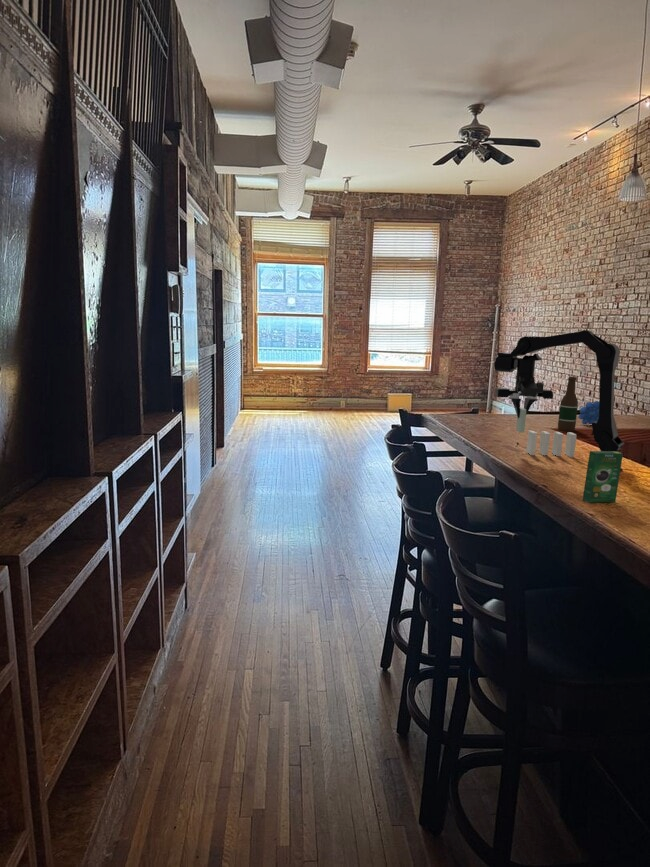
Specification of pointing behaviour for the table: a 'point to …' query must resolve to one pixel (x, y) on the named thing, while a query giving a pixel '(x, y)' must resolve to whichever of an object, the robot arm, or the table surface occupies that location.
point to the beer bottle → (568, 407)
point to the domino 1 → (521, 420)
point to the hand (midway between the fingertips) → (521, 417)
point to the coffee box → (602, 476)
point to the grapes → (590, 412)
